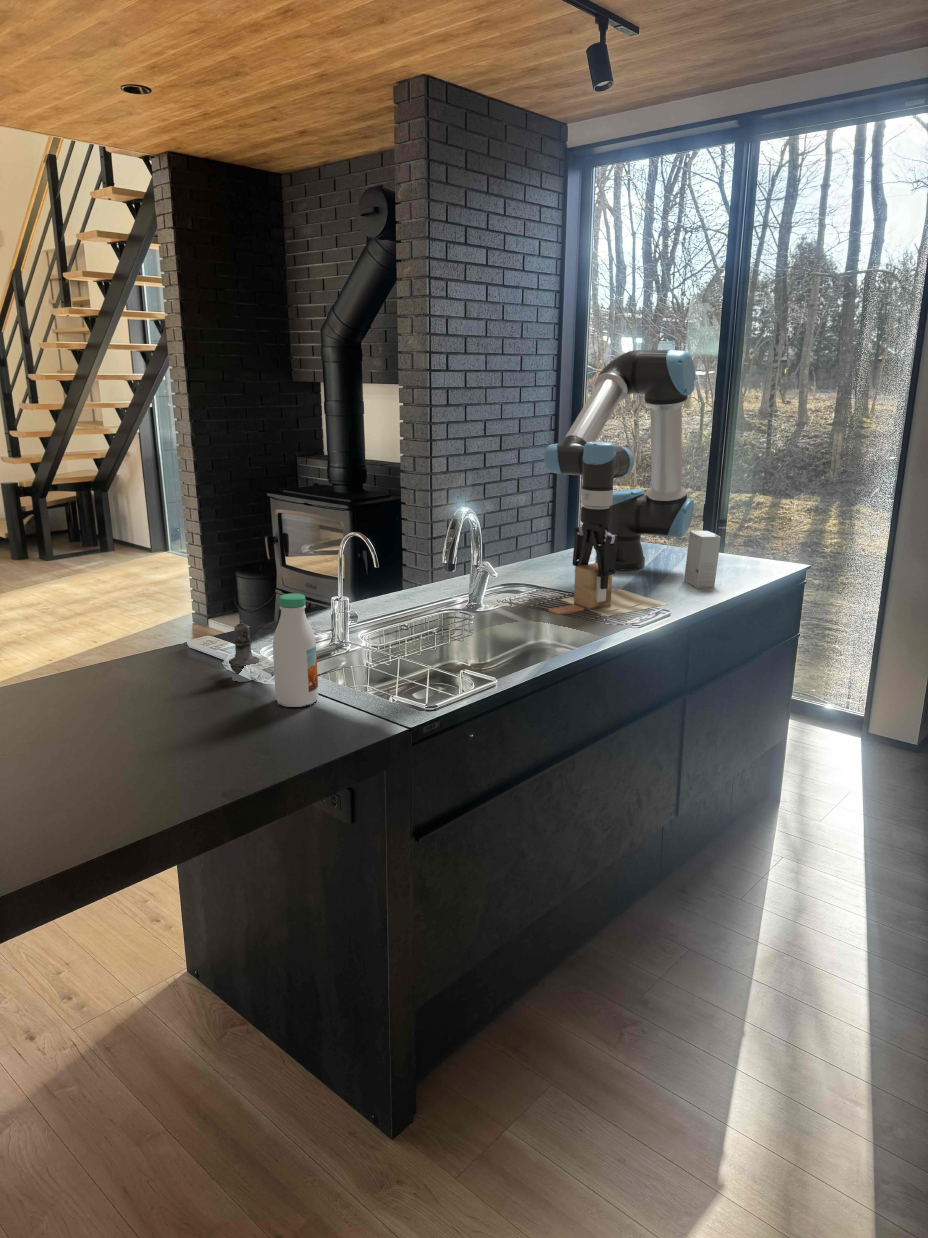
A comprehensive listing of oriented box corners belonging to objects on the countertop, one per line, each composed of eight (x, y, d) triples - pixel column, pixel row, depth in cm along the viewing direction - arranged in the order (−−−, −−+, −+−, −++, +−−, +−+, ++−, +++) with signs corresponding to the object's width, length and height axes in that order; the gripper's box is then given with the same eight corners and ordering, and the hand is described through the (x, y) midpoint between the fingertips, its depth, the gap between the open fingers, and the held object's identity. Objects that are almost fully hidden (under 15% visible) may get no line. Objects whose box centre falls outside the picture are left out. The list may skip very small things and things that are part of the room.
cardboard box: (595, 600, 223) (596, 562, 220) (610, 606, 218) (612, 567, 215) (573, 604, 220) (575, 566, 217) (589, 610, 215) (590, 571, 212)
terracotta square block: (573, 612, 219) (573, 604, 218) (583, 616, 215) (584, 608, 215) (560, 614, 217) (561, 606, 216) (571, 618, 213) (571, 610, 213)
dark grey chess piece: (233, 684, 167) (229, 625, 163) (226, 675, 172) (222, 617, 168) (263, 680, 169) (260, 621, 166) (256, 670, 174) (252, 613, 171)
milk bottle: (298, 712, 154) (293, 603, 148) (266, 703, 158) (260, 597, 152) (327, 699, 160) (323, 594, 154) (296, 690, 164) (290, 588, 158)
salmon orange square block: (560, 614, 217) (561, 606, 216) (571, 618, 213) (571, 610, 213) (548, 616, 214) (548, 609, 214) (558, 620, 211) (558, 612, 211)
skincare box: (683, 581, 249) (687, 530, 245) (702, 580, 251) (707, 529, 246) (696, 588, 242) (701, 535, 237) (716, 587, 243) (721, 535, 239)
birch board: (620, 593, 236) (620, 588, 235) (668, 608, 221) (668, 604, 221) (559, 603, 225) (559, 599, 224) (606, 620, 210) (606, 616, 210)
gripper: (560, 502, 217) (556, 591, 224) (611, 513, 202) (605, 608, 209) (583, 500, 221) (579, 588, 228) (634, 510, 206) (628, 604, 212)
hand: (591, 597), depth 218 cm, fingers closed on cardboard box, 6 cm apart
